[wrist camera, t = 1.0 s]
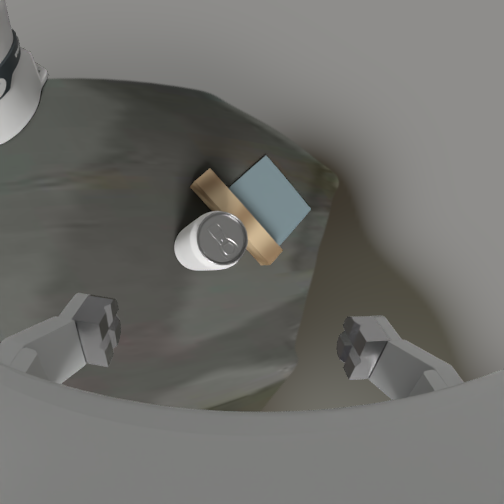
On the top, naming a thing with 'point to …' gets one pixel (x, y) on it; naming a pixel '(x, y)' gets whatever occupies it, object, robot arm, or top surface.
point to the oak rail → (226, 201)
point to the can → (211, 242)
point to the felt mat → (270, 199)
